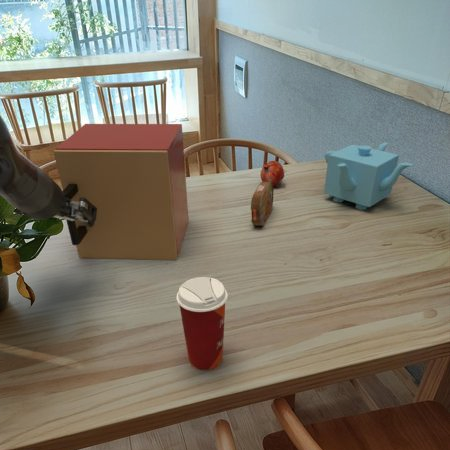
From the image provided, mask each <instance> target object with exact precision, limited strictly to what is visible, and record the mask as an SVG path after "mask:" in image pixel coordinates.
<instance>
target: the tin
mask: <svg viewBox="0 0 450 450" xmlns="http://www.w3.org/2000/svg"><path fill="white" fill-rule="evenodd" d="M273 206H274V187H273V184H272V182H263V181H261V182H260V183H259V184H258V186H257V188H256V190H255V191H254V193H253V194H252V197H251V201H250V211H251V224H252V225H253V226H261V227H264V226H265V225H266V223H267V221H268V220H269V218H270V215H271V214H272V210H273Z"/></svg>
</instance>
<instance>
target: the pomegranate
mask: <svg viewBox="0 0 450 450" xmlns="http://www.w3.org/2000/svg"><path fill="white" fill-rule="evenodd" d="M259 176H260V180H261V182H272V184H273V188H276V187H277V186H279V185H280V184H281V182H283V179H285V170H284V167H283V165H282V164H281V163H280V161H277V160H270V161H268V162H266V163H265V164H263V166H262V168H261V170H260V175H259Z"/></svg>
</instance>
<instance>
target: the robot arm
mask: <svg viewBox="0 0 450 450" xmlns="http://www.w3.org/2000/svg"><path fill="white" fill-rule="evenodd" d="M62 191H63V189H62V187H61V185H59V184H58V183H57V182H56V181H55V180H54V179H53V178H52V177H51V176H49V175H48V174H47V172H45V171H44V170H43V169H42V168H41V167H40V166H38V165H36V164H34V163H33V162H32V161H31V160H30V159H29V158H27V156H25V155H24V154H23V152H21V150H20V149H19V147H18V146H17V145H16V143H15V141H14V139H13V137H12V134H11V132H10V129H9V126H8V124H7V123H6V122H5V119H4V118H3V116H2V114H0V196H1V197H2V198H3V199H5V201H6V202H7V203H9V205H10V206H11V205H13V206H14V207H16V209H15V210H14V212H13V213H14V214H15V215H17V214H20V215H22V214H26V215H27V216H29V217H30V219H33V220H34V219H35V220H46V219H49V218H52V219H53V218H56V219H64V220H66V219H67V220H70V221H75V220H79V221H82V222H83V223H84V224H85V225H87V226H88V227H93V225H94V222H95V221H96V215H97V208H96V207H95V206H94V205H93V204H92V203H90V202H89V201H88V200H87V199H86V198H84V197H80V198H79V202H74V201H71V200H70V199H68V198H66V197H65V196H64V194H63V192H62ZM71 211H72V215H71V216H70V215H68V214H69V213H70V212H71ZM78 213H79V214H82V217H81V216H79V215H78Z"/></svg>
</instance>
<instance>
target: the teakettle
mask: <svg viewBox="0 0 450 450" xmlns="http://www.w3.org/2000/svg"><path fill="white" fill-rule="evenodd" d="M388 145H389V143H388V142H387V141H386V142H382V143H379V145H378V146H377V148H376V149H375V148H373V147H372V146H370V145H367V144H363V145H357V144H349V145H348V146H346V147H344V148H343V147H342V148H341V149H339V150H329V151H326V153H324V160H325V162H326V164H327V165H326V173H325V181H324V190H323V194H324V195H328V196H331V197H333V199H332V201H333V202H335V203H343V202H344V201H347V202H351V203H354V204H355V209H357V210H360V211H361V210H366V209H368V208H371V207H372V206H374V205H376V204H377V203H378V202H380V201H382V200H384V199H385V198H386V197H388V196H389V195H391V194H392V191H393V186H394V185H395V184H396V182H397V181H398V179H399V178H400V175H401V174H402V173H403V171H404V170H405V169H406V168H409V167H412V166H414V164H413V163H410V162H401V163H399V164H398V162H399V158H400V155H399V154H396V153H394V152H393V153H392V152H388V151H385V149H386V148H387V146H388Z"/></svg>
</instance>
